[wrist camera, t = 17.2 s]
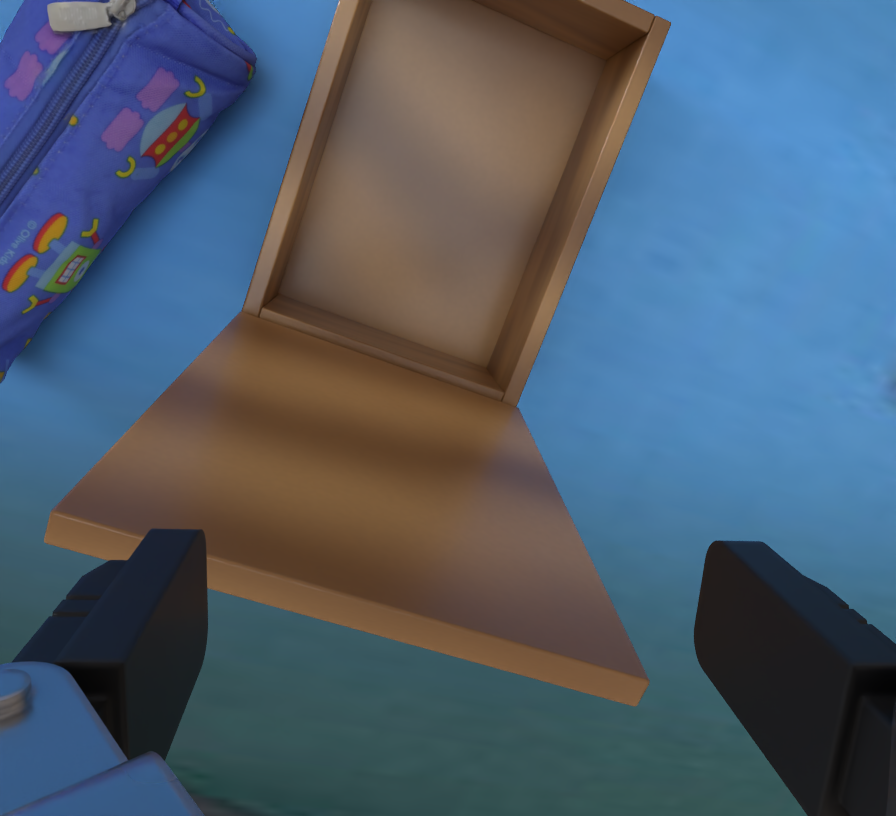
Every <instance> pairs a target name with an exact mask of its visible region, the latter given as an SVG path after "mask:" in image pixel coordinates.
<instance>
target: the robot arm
mask: <svg viewBox="0 0 896 816" xmlns="http://www.w3.org/2000/svg"><path fill="white" fill-rule="evenodd" d="M207 633H208V603H207V550H206V538H205V533H204V531H203V530H202V529H157V528H152V529H150V530H149V532H148V533H147V534H146V536H145V537H144V538H143V540H142V541H141V543H140V544H139V545H138V547H137V548H136V549H135V551H134V552H133V554H132V555H131V556H130V558H129V559H128V560H110V561H108V562H106V563H104V564H103V565H101V566H99V567H98V568H96V569H94V570H92V571H91V572H89V573H87V574H85V575H84V576H82V577H81V579H80V580H79V581H78V582H77V583H76V585H75V586H74V587H73V588H72V589H71V591H70V592H69V593H68V594H67V596H66V600H62V602H61V603H60V604H59V605H58V606H57V608H56V609H55V610H54V611H53V615H52V616H49V617H48V619H47V620H46V621H45V622H44V623H43V625H42V626H41V627H40V628H39V630H38V631H37V632H36V633H35V634H34V636H33V637H32V638H31V639H30V640H29V642H28V643H27V644H26V645H25V647H24V648H23V649H22V650H21V651H20V653H19V654H18V655H17V656H16V657H15V659H14V660H13V661H12V662H11V663H7V664H2V665H0V816H204V815H203V813H202V812H201V811H200V809H199V808H198V806H197V805H196V804H195V802H194V801H193V800H192V798H191V797H190V795H189V794H188V793H187V791H186V790H185V788H184V787H183V786H182V784H181V783H180V782H179V780H178V779H177V777H176V776H175V775H174V773H173V772H172V771H171V769H170V768H169V766H168V765H167V764H166V762H165V759H166V756H167V754H168V751H169V749H170V746H171V743H172V741H173V738H174V736H175V733H176V731H177V728H178V726H179V723H180V721H181V718H182V715H183V713H184V710H185V708H186V705H187V703H188V700H189V698H190V695H191V692H192V690H193V687H194V685H195V682H196V680H197V677H198V675H199V672H200V670H201V667H202V664H203V660H204V656H205V650H206V644H207ZM694 644H695V650H696V655H697V658H698V661H699V663H700V666H701V667H702V669H703V671H704V672H705V673H706V675H707V676H708V678H709V679H710V680H711V682H712V683H713V684H714V686H715V687H716V689H717V690H718V691H719V693H720V694H721V696H722V697H723V698H724V700H725V701H726V703H727V704H728V705H729V707H730V708H731V709H732V711H733V712H734V714H735V715H736V716H737V718H738V719H739V721H740V722H741V723H742V725H743V726H744V728H745V729H746V730H747V732H748V733H749V735H750V736H751V737H752V739H753V740H754V741H755V743H756V744H757V746H758V747H759V748H760V750H761V751H762V753H763V754H764V755H765V757H766V758H767V760H768V761H769V762H770V764H771V765H772V767H773V768H774V769H775V771H776V772H777V773H778V775H779V776H780V778H781V779H782V780H783V782H784V783H785V785H786V786H787V787H788V789H789V790H790V792H791V793H792V794H793V796H794V797H795V798H796V800H797V801H798V803H799V804H800V805H801V807H802V808H803V810H804V811H805V812H806V814H807V815H808V816H896V644H895V643H894V642H893V641H891V640H890V639H889V638H888V637H887V636H885V635H884V634H883V633H882V632H880V631H879V630H878V629H877V628H876V627H874V626H873V625H872V624H867V620H866V619H865V618H863V617H862V616H861V615H860V614H859V613H857V612H856V611H855V610H854V609H849V605H848V604H846V603H845V602H844V601H843V600H842V599H840V598H839V597H838V596H837V595H836V594H834V593H833V592H832V591H831V590H829V589H828V588H827V587H825V586H823V585H821V584H819V583H817V582H815V581H813V580H811V579H809V578H807V577H806V576H804V575H802V574H801V573H800V572H798V571H797V570H796V569H795V568H794V567H792V566H791V565H790V564H789V563H788V562H786V561H785V560H784V559H783V558H782V557H781V556H779V555H778V554H777V553H776V552H775V551H773V550H772V549H771V548H770V547H769V546H767V545H766V544H765V543H763V542H760V541H714V542H713V543H712V544H711V545H710V546H709V548H708V551H707V554H706V558H705V564H704V571H703V577H702V583H701V589H700V595H699V602H698V608H697V614H696V620H695V627H694Z"/></svg>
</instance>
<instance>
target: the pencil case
mask: <svg viewBox="0 0 896 816" xmlns="http://www.w3.org/2000/svg"><path fill="white" fill-rule="evenodd" d="M256 60H257V58H256V55H255V54H254V52H253V51H252V49H251V48H250V47H249V46H248V45H247V44H246V43H245V42H244V41H243V40H241V39H240V38H239V37H238V36H237V35H236V34H235V33H234V32H233V30H232V29H231V27H230V26H229V25H228V23H227V22H226V21H225V20H224V18H223V17H222V16H221V15H220V13H219V12H218V11H217V10H216V8H215V7H214V6H213V5H212V4H211V3H210V2H209V0H24V2H23V4H22V5H21V7H20V9H19V11H18V12H17V14H16V16H15V17H14V19H13V21H12V23H11V24H10V26H9V28H8V29H7V31H6V33H5V35H4V37H3V40H2V42H1V43H0V383H1V382H2V381H3V380H4V379H5V376H6V373H7V371H8V369H9V367H10V366H11V364H12V362H13V361H14V359H15V358H16V357H17V356H18V355H19V354H20V353H21V351H22V350H23V349H24V348H25V347H26V346H27V345H28V343H29V342H30V341H31V340H32V338H33V337H34V335H35V333H36V332H37V330H38V328H39V326H40V324H41V322H42V321H43V320H44V319H45V318H46V317H47V316H48V315H49V314H50V313H51V312H53V311H54V310H55V309H56V308H57V307H58V306H59V305H60V304H61V303H62V301H63V300H64V299H65V298H66V297H67V296H68V295H69V294H70V292H71V291H72V290H73V289H74V288H75V286H76V285H77V284H78V283H79V281H80V280H81V278H82V277H83V275H84V274H85V273H86V271H87V270H88V268H89V267H90V266H91V264H92V263H93V261H94V260H95V259H96V258H97V257H98V256H99V254H100V253H101V252H102V251H103V249H104V248H105V247H106V245H107V244H108V243H109V242H110V240H111V239H112V238H113V236H114V235H115V234H116V233H117V231H118V230H119V229H120V228H121V226H122V225H123V224H124V222H125V221H126V220H127V219H128V217H129V216H130V214H131V213H132V211H133V210H134V208H135V207H136V206H137V205H139V204H140V203H141V202H142V201H143V200H144V199H145V198H146V197H147V196H148V195H149V194H150V193H151V192H152V191H153V190H154V188H155V187H156V186H157V185H158V184H159V182H160V181H161V180H162V179H163V178H164V177H166V176H167V175H168V174H169V173H170V172H171V171H172V170H173V169H174V168H175V167H176V166H177V165H178V164H179V163H180V162H181V161H182V160H183V159H184V158H185V157H186V156H187V155H188V154H189V152H190V151H191V150H192V149H193V148H194V147H195V145H196V144H197V143H198V142H199V141H200V140H201V138H202V137H203V136H204V134H205V133H206V132H207V131H208V129H209V128H210V127H211V126H212V124H213V123H214V121H215V119H216V118H217V116H218V114H219V112H220V111H222V110H224V109H226V108H227V107H229V106H231V105H232V104H233V103H234V102H235V101H236V100H237V99H238V97H239V96H240V95H241V94H242V93H243V92H244V91H245V89H246V88H247V86H248V85H249V83H250V81H251V80H252V78H253V76H254V74H255V72H256V68H255V64H256Z"/></svg>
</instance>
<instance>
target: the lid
mask: <svg viewBox="0 0 896 816" xmlns="http://www.w3.org/2000/svg"><path fill="white" fill-rule="evenodd" d="M152 528H157V529H202V530H203V531H204V533H205V538H206V550H207V588H209V589H213V590H216V591H220V592H224V593H227V594H231V595H234V596H238V597H242V598H245V599H249V600H252V601H256V602H260V603H263V604H267V605H270V606H274V607H278V608H281V609H285V610H288V611H292V612H296V613H299V614H303V615H306V616H310V617H314V618H317V619H321V620H324V621H328V622H332V623H335V624H339V625H343V626H346V627H350V628H353V629H357V630H361V631H364V632H368V633H371V634H375V635H379V636H382V637H386V638H389V639H393V640H397V641H400V642H404V643H407V644H411V645H415V646H418V647H422V648H425V649H429V650H433V651H436V652H440V653H443V654H447V655H451V656H454V657H458V658H462V659H465V660H469V661H472V662H476V663H480V664H483V665H487V666H490V667H494V668H498V669H501V670H505V671H508V672H512V673H516V674H519V675H523V676H526V677H530V678H534V679H537V680H541V681H544V682H548V683H552V684H555V685H559V686H562V687H566V688H570V689H573V690H577V691H580V692H584V693H588V694H591V695H595V696H599V697H602V698H606V699H609V700H613V701H617V702H620V703H624V704H627V705H631V706H637V705H638V703H639V701H640V699H641V697H642V696H643V694H644V692H645V690H646V688H647V687H648V685H649V679H648V677H647V674H646V672H645V670H644V668H643V666H642V664H641V662H640V660H639V658H638V656H637V654H636V652H635V650H634V647H633V645H632V643H631V641H630V639H629V637H628V635H627V633H626V631H625V629H624V627H623V625H622V622H621V620H620V618H619V616H618V614H617V612H616V610H615V608H614V606H613V604H612V602H611V600H610V597H609V595H608V593H607V591H606V589H605V587H604V585H603V583H602V581H601V579H600V577H599V575H598V573H597V570H596V568H595V566H594V564H593V562H592V560H591V558H590V556H589V554H588V552H587V550H586V548H585V545H584V543H583V541H582V539H581V537H580V535H579V533H578V531H577V529H576V527H575V525H574V523H573V521H572V518H571V516H570V514H569V512H568V510H567V508H566V506H565V504H564V502H563V500H562V498H561V496H560V493H559V491H558V489H557V487H556V485H555V483H554V481H553V479H552V477H551V475H550V473H549V471H548V469H547V466H546V464H545V462H544V460H543V458H542V456H541V454H540V452H539V450H538V448H537V446H536V444H535V441H534V439H533V437H532V435H531V433H530V431H529V429H528V427H527V425H526V423H525V421H524V419H523V416H522V414H521V412H520V410H519V409H518V408H517V407H514V406H511V405H508V404H505V403H502V402H499V401H496V400H494V399H491V398H488V397H485V396H482V395H479V394H476V393H473V392H471V391H468V390H465V389H462V388H459V387H456V386H453V385H450V384H448V383H445V382H442V381H439V380H436V379H433V378H430V377H427V376H425V375H422V374H419V373H416V372H413V371H410V370H407V369H404V368H402V367H399V366H396V365H393V364H390V363H387V362H384V361H381V360H379V359H376V358H373V357H370V356H367V355H364V354H361V353H358V352H356V351H353V350H350V349H347V348H344V347H341V346H338V345H335V344H333V343H330V342H327V341H324V340H321V339H318V338H315V337H313V336H310V335H307V334H304V333H301V332H298V331H295V330H292V329H290V328H287V327H284V326H281V325H278V324H275V323H272V322H269V321H267V320H264V319H261V318H258V317H255V316H252V315H249V314H246V313H244V312H239V313H238V315H237V316H236V317H235V318H234V319H233V320H232V321H231V322H230V323H229V324H228V325H227V326H226V327H225V328H224V329H223V330H222V331H221V332H220V334H219V335H218V336H217V337H216V338H215V339H214V340H213V341H212V342H211V343H210V344H209V345H208V346H207V347H206V348H205V349H204V350H203V351H202V353H201V354H200V355H199V356H198V357H197V358H196V359H195V360H194V361H193V362H192V363H191V364H190V365H189V366H188V367H187V368H186V369H185V370H184V372H183V373H182V374H181V375H180V376H179V377H178V378H177V379H176V380H175V381H174V382H173V383H172V384H171V385H170V386H169V387H168V388H167V389H166V391H165V392H164V393H163V394H162V395H161V396H160V397H159V398H158V399H157V400H156V401H155V402H154V403H153V404H152V405H151V406H150V407H149V408H148V410H147V411H146V412H145V413H144V414H143V415H142V416H141V417H140V418H139V419H138V420H137V421H136V422H135V423H134V424H133V425H132V426H131V427H130V429H129V430H128V431H127V432H126V433H125V434H124V435H123V436H122V437H121V438H120V439H119V440H118V441H117V442H116V443H115V444H114V445H113V446H112V448H111V449H110V450H109V451H108V452H107V453H106V454H105V455H104V456H103V457H102V458H101V459H100V460H99V461H98V462H97V463H96V464H95V465H94V467H93V468H92V469H91V470H90V471H89V472H88V473H87V474H86V475H85V476H84V477H83V478H82V479H81V480H80V481H79V482H78V483H77V484H76V485H75V487H74V488H73V489H72V490H71V491H70V492H69V493H68V494H67V495H66V496H65V497H64V498H63V499H62V500H61V501H60V502H59V503H58V504H57V506H56V507H55V508H54V509H53V510H52V511H51V513H50V517H49V521H48V525H47V529H46V533H45V537H44V542H45V543H47V544H50V545H54V546H58V547H61V548H65V549H68V550H72V551H76V552H79V553H83V554H87V555H90V556H94V557H97V558H101V559H105V560H108V561H110V560H128V559H129V558H130V556H131V555H132V554H133V552H134V551H135V549H136V548H137V547H138V545H139V544H140V543H141V541H142V540H143V538H144V537H145V536H146V534H147V533H148V532H149V530H150V529H152Z"/></svg>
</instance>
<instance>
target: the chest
mask: <svg viewBox="0 0 896 816" xmlns="http://www.w3.org/2000/svg"><path fill="white" fill-rule="evenodd" d="M654 16H655V15H654V14H652V13H649V12H647V11H645V10H643V9H641V8H639V7H637V6H634V5H632V4H630V3H628V2H626V1H624V0H339V2H338V5H337V8H336V12H335V15H334V18H333V21H332V24H331V28H330V31H329V34H328V37H327V40H326V43H325V47H324V50H323V53H322V56H321V59H320V63H319V66H318V69H317V72H316V75H315V79H314V82H313V85H312V88H311V91H310V95H309V98H308V101H307V104H306V107H305V110H304V114H303V117H302V120H301V123H300V126H299V130H298V133H297V136H296V139H295V142H294V146H293V149H292V152H291V155H290V158H289V162H288V165H287V168H286V171H285V174H284V177H283V181H282V184H281V187H280V190H279V193H278V197H277V200H276V203H275V206H274V209H273V213H272V216H271V219H270V222H269V225H268V229H267V232H266V235H265V238H264V241H263V244H262V248H261V251H260V254H259V257H258V260H257V264H256V267H255V270H254V273H253V276H252V280H251V283H250V286H249V289H248V292H247V296H246V299H245V302H244V305H243V308H242V311H241V312H244V313H246V314H249V315H252V316H255V317H258V318H261V319H264V320H267V321H269V322H272V323H275V324H278V325H281V326H284V327H287V328H290V329H292V330H295V331H298V332H301V333H304V334H307V335H310V336H313V337H315V338H318V339H321V340H324V341H327V342H330V343H333V344H335V345H338V346H341V347H344V348H347V349H350V350H353V351H356V352H358V353H361V354H364V355H367V356H370V357H373V358H376V359H379V360H381V361H384V362H387V363H390V364H393V365H396V366H399V367H402V368H404V369H407V370H410V371H413V372H416V373H419V374H422V375H425V376H427V377H430V378H433V379H436V380H439V381H442V382H445V383H448V384H450V385H453V386H456V387H459V388H462V389H465V390H468V391H471V392H473V393H476V394H479V395H482V396H485V397H488V398H491V399H494V400H496V401H499V402H502V403H505V404H508V405H511V406H514V407H516V406H517V404H518V401H519V399H520V396H521V394H522V391H523V389H524V386H525V384H526V382H527V379H528V377H529V374H530V372H531V369H532V367H533V364H534V362H535V359H536V357H537V354H538V352H539V349H540V347H541V344H542V342H543V340H544V337H545V335H546V332H547V330H548V327H549V325H550V322H551V320H552V317H553V315H554V312H555V310H556V307H557V305H558V302H559V300H560V297H561V295H562V293H563V290H564V288H565V285H566V283H567V280H568V278H569V275H570V273H571V270H572V268H573V265H574V263H575V260H576V258H577V255H578V253H579V251H580V248H581V246H582V243H583V241H584V238H585V236H586V233H587V231H588V228H589V226H590V223H591V221H592V218H593V216H594V213H595V211H596V208H597V206H598V204H599V201H600V199H601V196H602V194H603V191H604V189H605V186H606V184H607V181H608V179H609V176H610V174H611V171H612V169H613V166H614V164H615V162H616V159H617V157H618V154H619V152H620V149H621V147H622V144H623V142H624V139H625V137H626V134H627V132H628V129H629V127H630V124H631V122H632V120H633V117H634V115H635V112H636V110H637V107H638V105H639V102H640V100H641V97H642V95H643V92H644V90H645V87H646V85H647V82H648V80H649V77H650V75H651V73H652V70H653V68H654V65H655V63H656V60H657V58H658V55H659V53H660V50H661V48H662V45H663V43H664V40H665V38H666V35H667V33H668V31H669V28H670V26H671V22H669V21H667V20H665V19H663V18H660V17H658V16H655V17H654Z"/></svg>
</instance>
